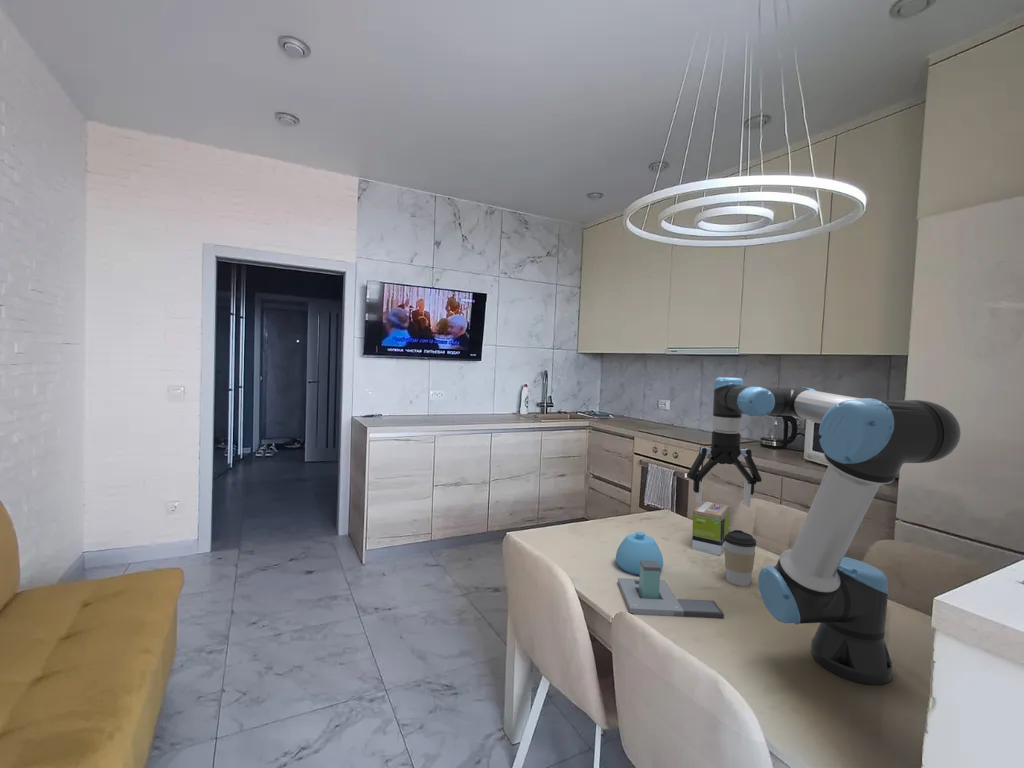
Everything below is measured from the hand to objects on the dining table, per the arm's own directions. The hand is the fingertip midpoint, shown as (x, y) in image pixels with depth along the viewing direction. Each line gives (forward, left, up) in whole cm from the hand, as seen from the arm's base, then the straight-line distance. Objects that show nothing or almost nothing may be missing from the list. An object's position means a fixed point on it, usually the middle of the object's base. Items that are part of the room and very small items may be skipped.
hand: (722, 504), depth 138 cm
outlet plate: (-4, +21, -27) cm, 34 cm away
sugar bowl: (+17, +19, -27) cm, 37 cm away
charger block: (-4, +21, -27) cm, 34 cm away
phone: (-9, +10, -27) cm, 30 cm away
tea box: (+38, -12, -27) cm, 48 cm away
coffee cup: (+10, -10, -27) cm, 30 cm away
